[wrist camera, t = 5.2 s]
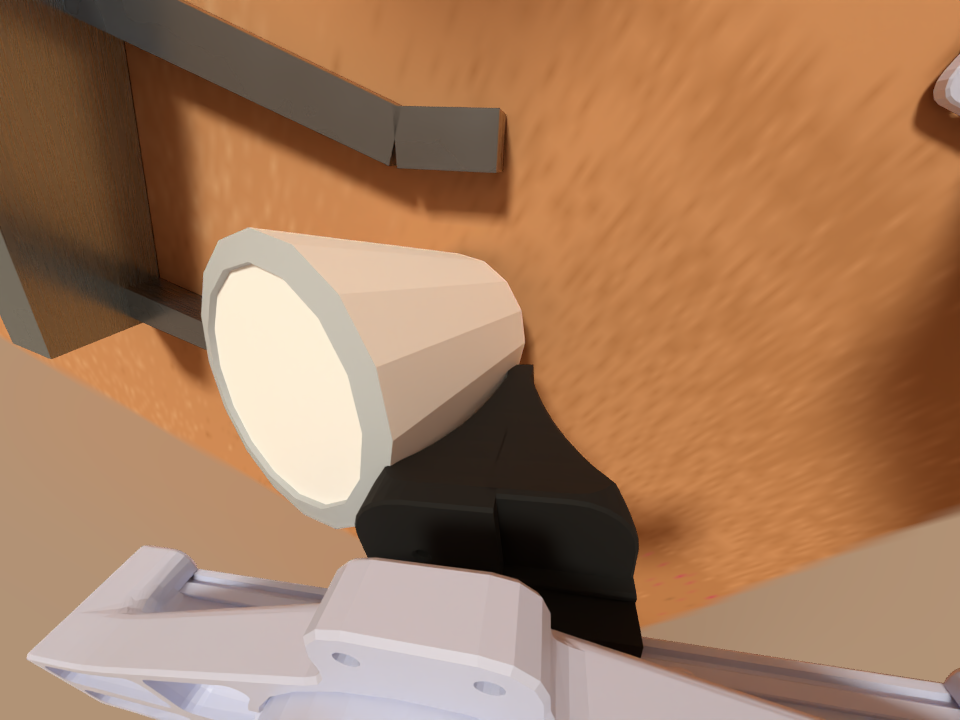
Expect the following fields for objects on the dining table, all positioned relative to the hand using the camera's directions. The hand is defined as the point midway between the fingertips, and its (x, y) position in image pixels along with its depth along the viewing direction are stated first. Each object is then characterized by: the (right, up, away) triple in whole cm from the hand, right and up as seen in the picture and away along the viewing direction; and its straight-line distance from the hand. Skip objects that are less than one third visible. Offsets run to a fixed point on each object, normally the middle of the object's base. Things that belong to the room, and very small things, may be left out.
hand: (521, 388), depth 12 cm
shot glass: (-2, +2, +1) cm, 3 cm away
